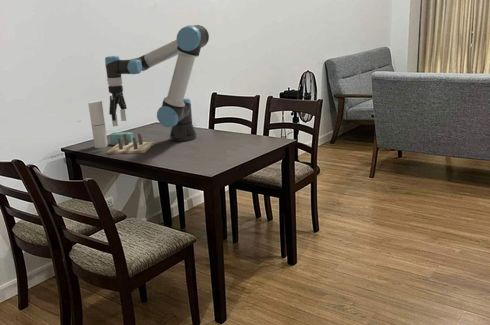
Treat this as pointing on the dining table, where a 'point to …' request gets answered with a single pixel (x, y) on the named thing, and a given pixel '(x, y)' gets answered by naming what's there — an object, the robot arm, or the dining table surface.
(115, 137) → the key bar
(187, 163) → the dining table surface
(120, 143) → the wooden peg board
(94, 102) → the cylindrical container
